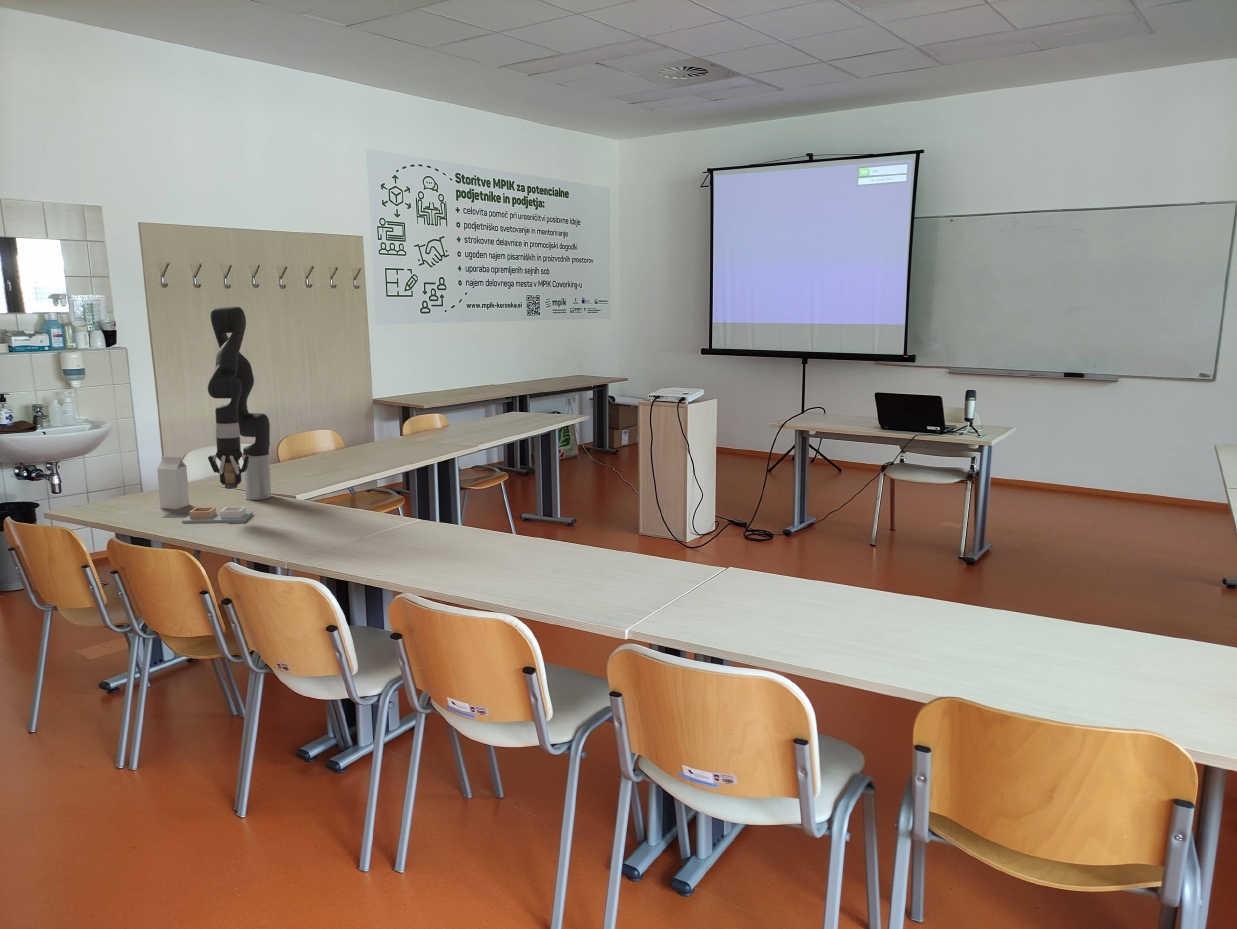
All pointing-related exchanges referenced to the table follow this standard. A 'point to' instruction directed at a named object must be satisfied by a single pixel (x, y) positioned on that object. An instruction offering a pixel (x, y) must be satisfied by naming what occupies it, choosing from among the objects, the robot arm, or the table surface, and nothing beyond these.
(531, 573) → the table surface
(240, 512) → the double pet bowl
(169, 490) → the milk carton
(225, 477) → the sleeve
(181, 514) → the feeder mat
